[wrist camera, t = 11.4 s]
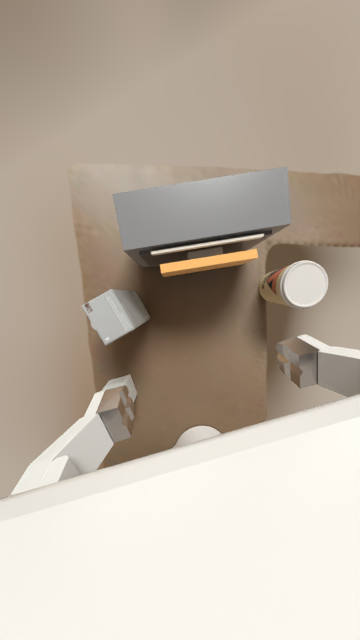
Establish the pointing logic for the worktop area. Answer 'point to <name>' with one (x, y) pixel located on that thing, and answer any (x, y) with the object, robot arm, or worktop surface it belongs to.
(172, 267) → the panel
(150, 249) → the grey rectangular box
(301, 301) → the coffee cup
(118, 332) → the skincare box
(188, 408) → the worktop surface
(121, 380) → the skincare box
